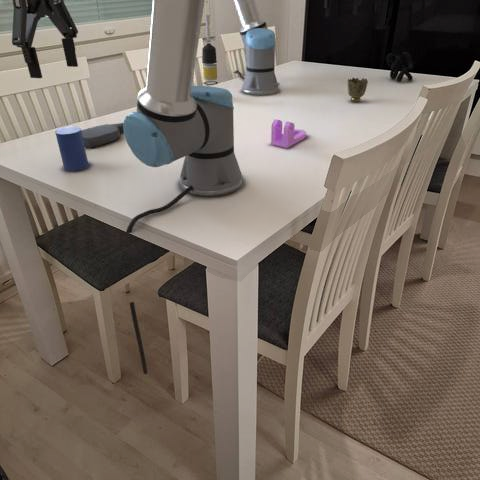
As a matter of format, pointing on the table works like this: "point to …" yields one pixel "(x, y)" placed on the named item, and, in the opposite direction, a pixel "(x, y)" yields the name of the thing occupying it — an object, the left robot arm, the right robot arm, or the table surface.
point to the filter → (209, 58)
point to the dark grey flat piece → (101, 134)
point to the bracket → (285, 134)
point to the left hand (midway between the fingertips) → (55, 72)
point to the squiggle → (399, 66)
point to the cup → (357, 88)
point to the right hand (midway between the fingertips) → (341, 15)
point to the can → (72, 148)
